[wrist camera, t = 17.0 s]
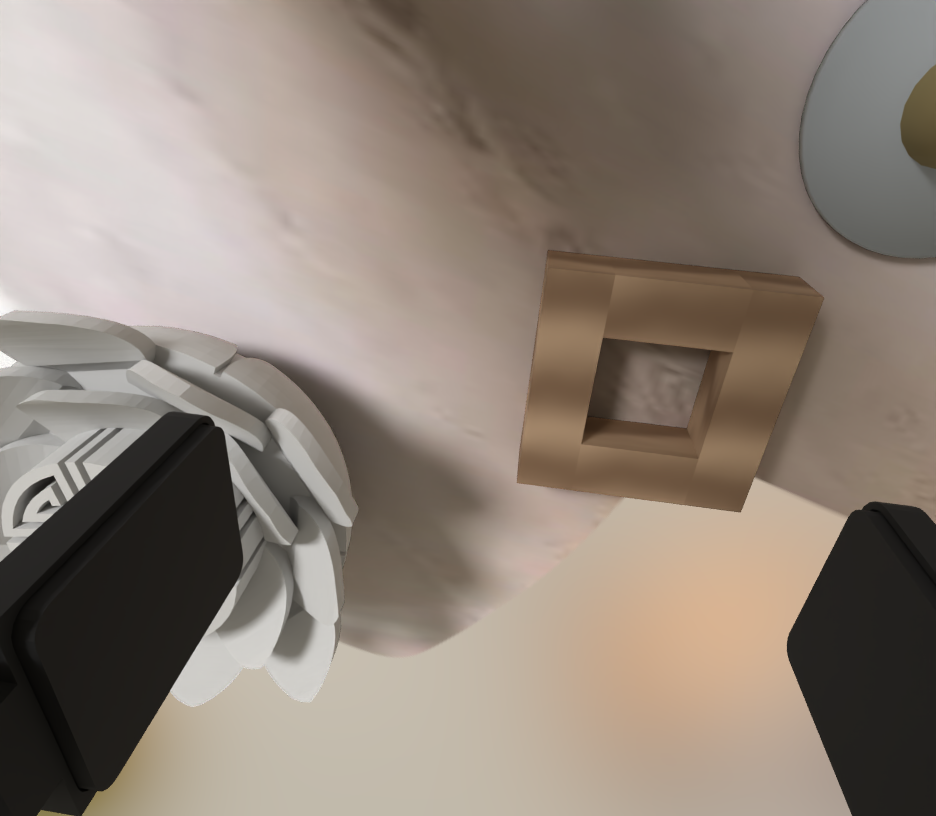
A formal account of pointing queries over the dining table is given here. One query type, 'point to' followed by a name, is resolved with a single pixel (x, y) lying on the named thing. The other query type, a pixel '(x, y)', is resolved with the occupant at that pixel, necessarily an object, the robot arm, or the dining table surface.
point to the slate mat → (872, 131)
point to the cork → (921, 121)
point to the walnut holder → (670, 323)
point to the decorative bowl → (251, 464)
